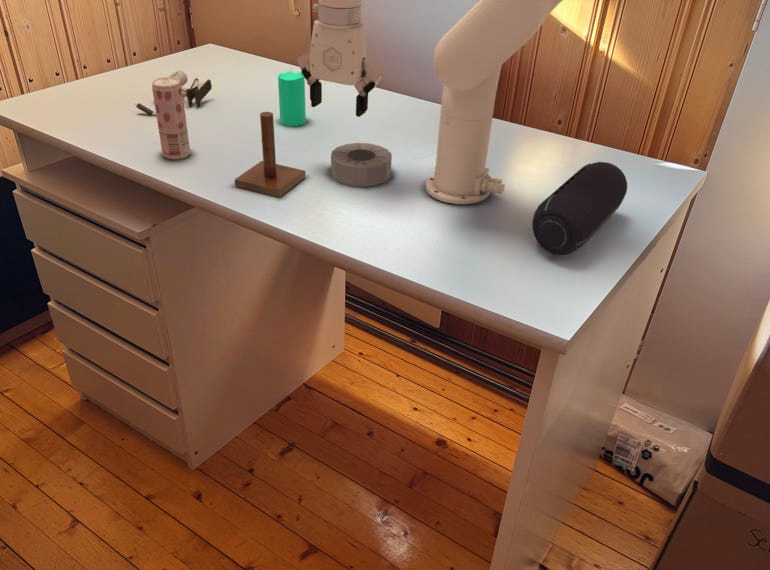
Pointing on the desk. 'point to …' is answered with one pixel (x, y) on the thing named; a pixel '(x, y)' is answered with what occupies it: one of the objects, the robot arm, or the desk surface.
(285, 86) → the candle
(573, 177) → the portable speaker
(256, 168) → the rack
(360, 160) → the tape
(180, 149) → the beverage can
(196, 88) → the clip-on lamp
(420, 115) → the desk surface
